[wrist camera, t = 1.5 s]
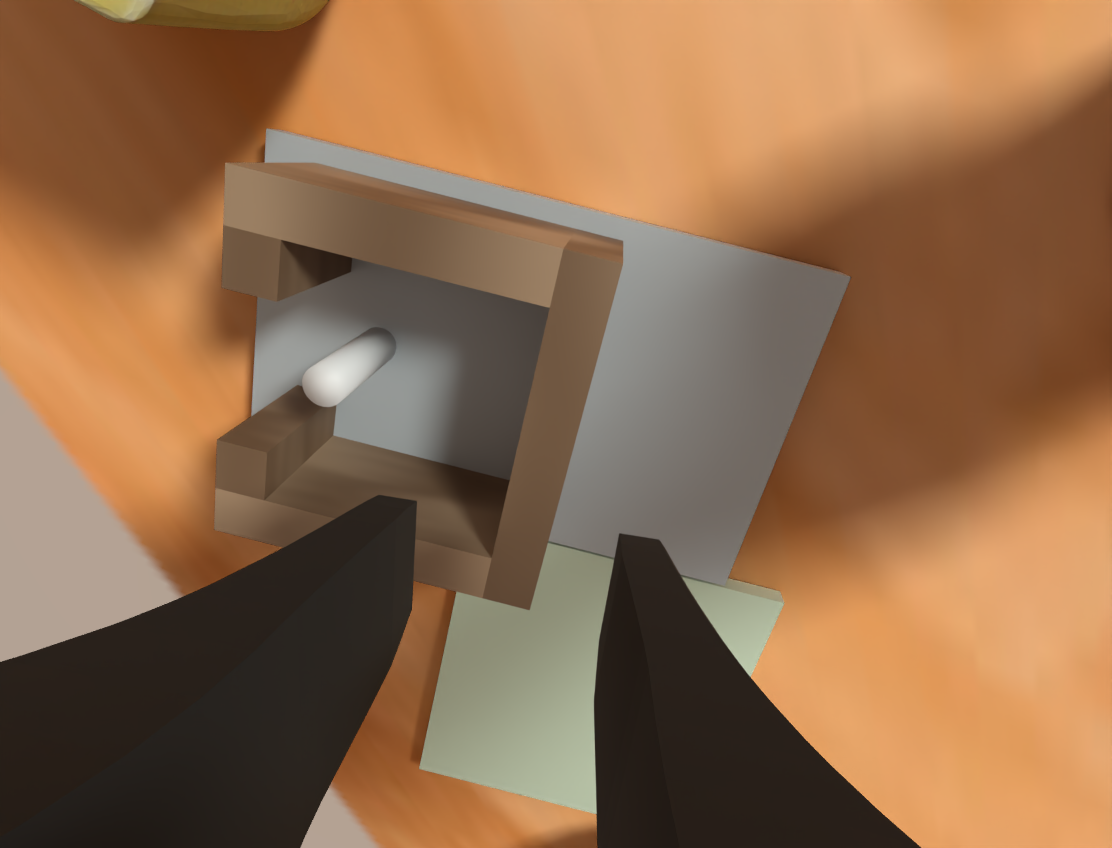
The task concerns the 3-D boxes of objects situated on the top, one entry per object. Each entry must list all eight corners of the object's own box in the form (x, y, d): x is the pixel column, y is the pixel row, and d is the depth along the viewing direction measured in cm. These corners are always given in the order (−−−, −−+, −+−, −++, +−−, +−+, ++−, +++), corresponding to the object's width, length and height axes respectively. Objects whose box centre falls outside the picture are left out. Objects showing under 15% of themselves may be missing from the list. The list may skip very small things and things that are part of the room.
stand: (841, 272, 17) (910, 306, 13) (721, 570, 21) (745, 671, 16) (281, 129, 17) (173, 119, 13) (262, 453, 21) (173, 525, 17)
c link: (623, 240, 16) (623, 263, 13) (547, 526, 20) (529, 610, 16) (315, 162, 16) (225, 162, 13) (290, 461, 20) (214, 529, 16)
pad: (780, 591, 21) (784, 603, 20) (676, 819, 25) (678, 834, 24) (475, 513, 21) (471, 523, 20) (423, 755, 25) (419, 768, 24)
